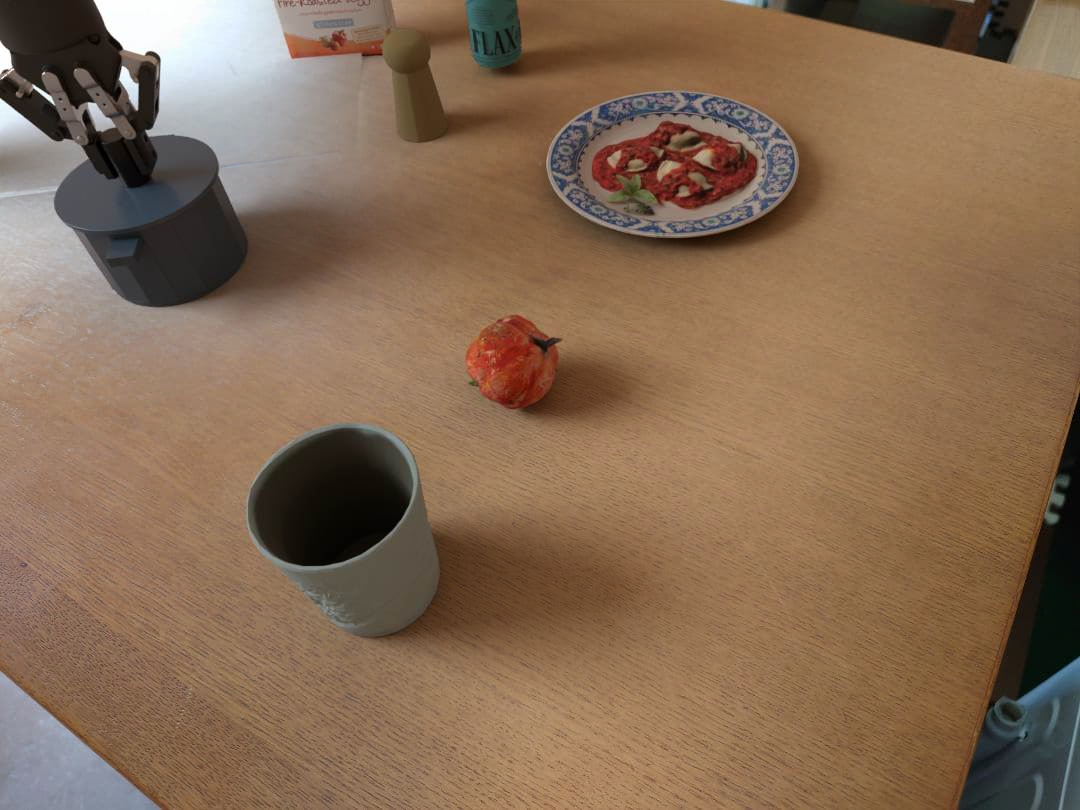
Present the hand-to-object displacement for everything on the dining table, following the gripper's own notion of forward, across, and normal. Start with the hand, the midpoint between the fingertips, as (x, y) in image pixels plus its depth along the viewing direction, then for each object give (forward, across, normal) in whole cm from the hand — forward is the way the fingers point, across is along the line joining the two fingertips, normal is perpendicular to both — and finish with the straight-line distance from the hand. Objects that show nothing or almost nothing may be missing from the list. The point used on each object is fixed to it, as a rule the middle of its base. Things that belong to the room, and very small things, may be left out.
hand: (131, 171), depth 71 cm
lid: (+1, 0, 0) cm, 1 cm away
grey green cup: (+11, -21, +39) cm, 46 cm away
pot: (+10, 0, 0) cm, 10 cm away
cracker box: (+11, -15, -41) cm, 45 cm away
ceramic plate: (+11, -51, -4) cm, 52 cm away
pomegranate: (+11, -32, +23) cm, 41 cm away
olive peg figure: (+11, -25, -19) cm, 33 cm away
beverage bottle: (+11, -35, -31) cm, 48 cm away
